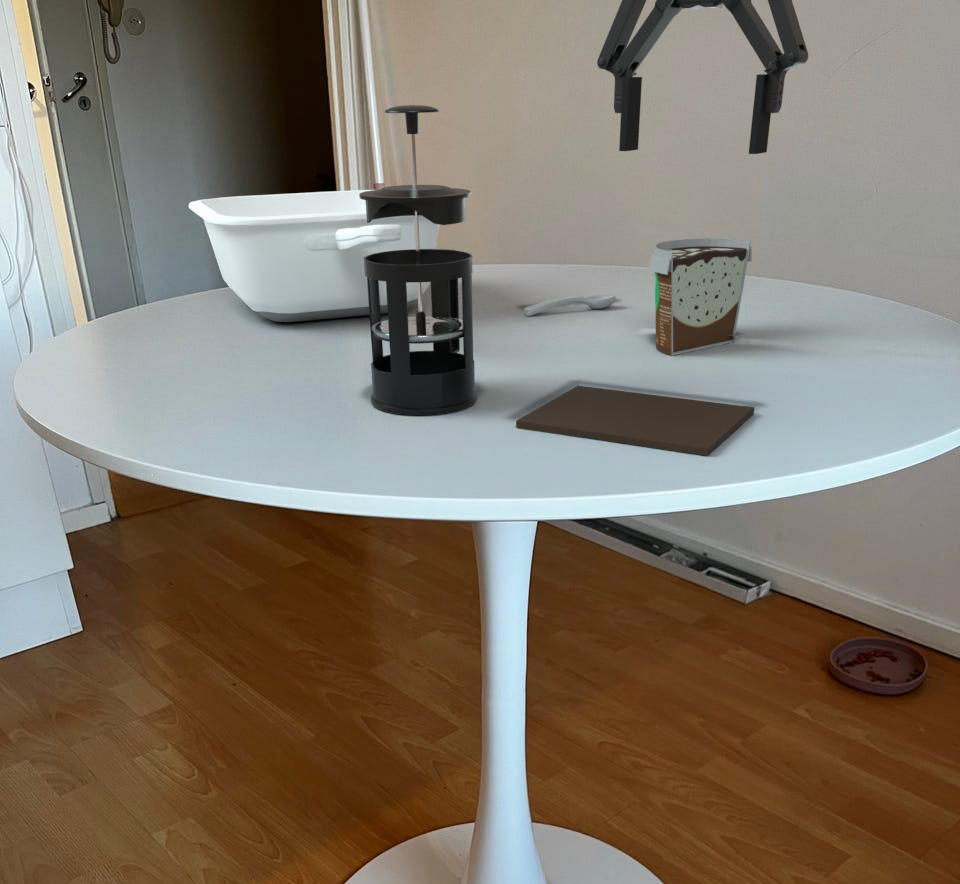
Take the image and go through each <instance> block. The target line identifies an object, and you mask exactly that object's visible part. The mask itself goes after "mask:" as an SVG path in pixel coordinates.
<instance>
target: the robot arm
mask: <svg viewBox="0 0 960 884" xmlns="http://www.w3.org/2000/svg"><path fill="white" fill-rule="evenodd" d="M646 3H647V0H621V2H620V4H619V6H618V9H617V12H616V14H615V16H614V19H613V21H612V24H611V26H610V29H609V31H608V33H607V36H606V39H605V40H604V43H603V46H602V47H601V50H600V53H599V55H598V58H597V60H596V64H597V68H599V69H601V70H603V71H606V72H608V73H611V74H612V75H613V77H614V91H613V95H614V96H613V98H614V99H613V110H614V113H615V114H620V123H619V125H620V126H619V148H618V152H631V151H638V150H639V138H640V123H641V121H640V120H641V103H642V86H643V85H642V83H643V76H637V74H638V73H637V72H636V71H637V70H638V69H639V67H640V66H641V64H642V63H643V62H644V60H645V59H646V57H647V56H648V55H649V53H650V51H651V50H652V49H653V47H654V46H655V45H656V43H657V42H658V40H659V39H660V38H661V36H662V35H663V33H664V32H665V31H666V29H667V28H668V26H669V25H670V23H671V22H672V20H673V19H674V18H675V17H676V16H677V15H679V13H680V12H681V11H682V9H683V10H700V9H703V8H709V9H722V8H723V7H725V8H726V9H727V10H728V12H729V13H731V15H732V17H733V18H734V20H735V22H736V23H737V25H738V26H739V29H740V30H741V31H742V33H743V34H744V36H745V38H746V39H747V41H748V43H749V44H750V46H751V47H752V49H753V51H754V52H755V54H756V56H757V57H758V59H759V61H760V62H761V64H762V65H763V67H764V68H765V69H764V70H763V72H764V73H763V74H761V73H759V74H756V76H755V77H756V78H755V89H754V95H753V96H754V97H753V107H752V115H751V116H752V118H751V127H750V136H749V145H748V155H758V154H765V153H767V152H768V145H769V144H768V143H769V135H770V126H771V117H772V114H778V113H780V111H781V109H782V106H783V96H784V95H783V94H784V87H785V77H786V76H787V75H786V74H787V73H788V71H790V70H791V69H794V68H795V67H798V66H800V65H801V66H802V65H804V64H806V63H807V62H808V60H809V51H808V48H807V44H806V42H805V38H804V35H803V32H802V29H801V26H800V23H799V19H798V16H797V12H796V10H795V6H794V3H793V0H767V3H768V5H769V6H768V7H769V9H770V12H771V15H772V18H773V22H774V25H775V28H776V31H777V35H778V37H779V41H780V44H781V48H782V50H783V52H782V50H781V48H780V47H779V45H778V43H777V41H776V40H775V38H774V37H773V35H772V34H771V32H770V30H769V29H768V27H767V26H766V24H765V23H764V21H763V19H762V18H761V16H760V15H759V13H758V11H757V9H756V7H755V6H754V4H753V2H752V0H655V2H654V6H653V8H652V10H651V11H650V12H649V14H648V16H647V17H646V18H645V20H644V21H643V23H642V24H641V26H640V27H639V29H638V30H637V31H636V33H635V35H634V36H633V37H632V35H633V34H634V30H635V28H636V26H637V23H638V21H639V19H640V16H641V15H642V12H643V9H644V7H645V5H646ZM631 37H632V39H631ZM765 73H766V74H765Z"/></svg>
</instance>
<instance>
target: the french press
mask: <svg viewBox="0 0 960 884" xmlns="http://www.w3.org/2000/svg"><path fill="white" fill-rule="evenodd" d="M439 112H440V111H439V108H436V107H434V106H429V105H419V104H409V105H407V104H406V105H398V106H392V107H389V108H386V109H385V110H384V113H385V114H404V116H405V127H406V135H409V136H410V154H411V157H410V158H411V174H412V175H411V177H412V178H411V179H412V184H404V185H391V186H384V187H382V188H379V189H371V190H372V191H366V192H362V193H360V194H359V196H360V199H363V200H365V202H366V217H367V223H370V222H371V221H372V220H374V219H379V218H386V217H396V216H414V224H415V247H416V249H409V250H395V251H386V252H380V253H374V254H370V255H368V256H365V257H364V269H365V276H366V277H367V284H368V299H369V314H370V315H369V327H370V329H369V330H370V341H371V343H370V344H371V356H372V357H371V358H372V361H371V363H370V368H371V371H370V373H371V383H372V384H371V385H372V394H371V395H370V404H371V406H372V407H373V408H375V409H377V410H379V411H382V412H385V413H388V414H389V413H390V414H394V415H401V416H403V415H404V416H434V415H435V416H436V415H446V414H451V413H455V412H458V411H459V412H460V411H462V410H466V409H469V408H470V407H472V406H474V405H475V404H476V403H477V401H478V393H477V390H476V388H475V387H476V384H475V383H476V379H475V360H474V326H473V325H474V323H473V319H474V318H473V275H472V274H473V272H474V271H473V270H474V269H473V255H472V253H470V252H466V251H463V250H457V249H446V248H436V249H420V243H419V219H418V215H422V216H423V217H425V218H426V219H428V220H429V221H431V222H432V223H434V224H439V225H440V226H449V225H457V224H460V223H464V222H466V220H467V203H466V202H467V200H466V198H469V197H471V196H472V191H471V190H470V189H465V188H457V187H456V188H455V187H450V186H446V185H441V184H418V180H417V179H418V178H417V176H418V175H417V173H418V172H417V153H416V152H417V151H416V135H419V114H422V113H423V114H424V113H439ZM459 279H461V305H462V306H461V307H462V319H460V307H459V300H460V299H459ZM379 281H386V291H387V308H388V313H387V319H385V320H382V314H381V313H380V297H379ZM407 282H417V292H418V299H417V311H416V312H415V316H409V310H408V309H409V306H407V286H406V283H407ZM421 282H430V298H431V299H430V300H431V301H430V302H431V315H426V313H425V311H424V310H423V294H422V290H421ZM460 339H462V346H463V350H462V351H463V353H459V352H460V350H461V345H460V344H461V341H460ZM383 341H384V342H388V343H389V354H387V355H384V347H383ZM412 344H418V345H419V344H420V345H421V344H432V350H410V349H411V348H410V347H411V346H410V345H412Z"/></svg>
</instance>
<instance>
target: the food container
mask: <svg viewBox="0 0 960 884" xmlns="http://www.w3.org/2000/svg"><path fill="white" fill-rule="evenodd" d="M751 242H752V241H751V240H750V239H741V238H740V239H739V238H721V237H719V238H718V237H710V238H708V237H706V238H704V237H703V238H682V239H681V238H680V239H672V240H666V241H661V242H658V243H656V244H655V245H654V250H652V251H651V255H650V257H649V258H650V259H649V263H648V266H647V268H648V270H650V271H652V272H654V299H655V300H654V302H655V303H654V304H655V307H654V309H655V348H656V350H657V351H658V352H660V353H662V354H664V355H667V356H677V355H681V354H686V353H691V352H695V351H699V350H705V349H707V348H708V349H709V348H714V347H719V346H722V345H723V346H724V345H728V344H732V343H735V338H736V336H735V335H736V333H737V327H738V321H739V314H740V309H741V302H742V297H743V289H744V284H745V279H746V273H747V266H748V262H753V254H752V253H753V251H752V246H751Z"/></svg>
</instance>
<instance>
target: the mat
mask: <svg viewBox="0 0 960 884" xmlns="http://www.w3.org/2000/svg"><path fill="white" fill-rule="evenodd" d="M754 415H755V406H746V405H739V404H731V403H723V402H715V401H714V402H713V401H706V400H698V399H691V398H682V397H674V396H665V395H659V394H649V393H642V392H635V391H634V392H633V391H626V390H620V389H619V390H617V389H610V388H603V387H594V386H586V385H576V386H574V387H573V388H571V389H569V390H568V391H566V392H564V393H562V394H560V395H559V396H557V397H555V398H553V399H551V400H549V401H548V402H546V403H545V404H543V405H540V406H539V407H537V408H536V409H533V410H531V412H529V413H527V414H525V415H523V416H522V417H520V418H518V419H517V420H516V421H515V428H516V429H523V430H530V431H538V432H542V433H543V432H544V433H550V434H556V435H565V436H570V437H577V438H585V439H589V440H598V441H604V442H610V443H611V442H612V443H618V444H623V445H631V446H638V447H644V448H645V447H646V448H650V449H659V450H664V451H671V452H677V453H684V454H685V453H686V454H692V455H697V456H704V457H708V456H710V454H712V453H713V452H714V451H715V450H716V449H717V448H718V447H719V446H720V445H722V444H723V443H724V442H725V441H726V440H727V439H728V438H729V437H730V436H731V435H733V434H734V433H735V432H736V431H737V430H738V429H739V428H740V427H741V426H742V425H743V424H745V423H746V422H747V421H748V420H749V419H750V418H752V416H754Z"/></svg>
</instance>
